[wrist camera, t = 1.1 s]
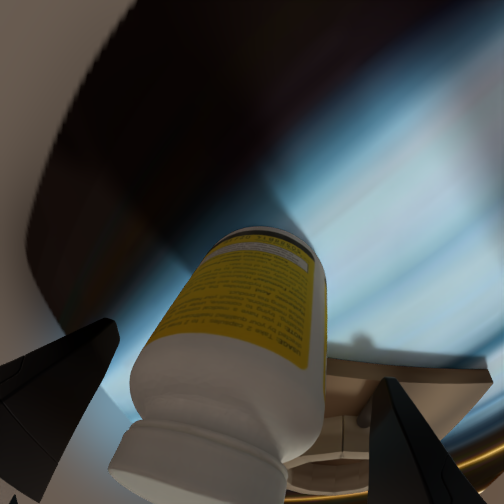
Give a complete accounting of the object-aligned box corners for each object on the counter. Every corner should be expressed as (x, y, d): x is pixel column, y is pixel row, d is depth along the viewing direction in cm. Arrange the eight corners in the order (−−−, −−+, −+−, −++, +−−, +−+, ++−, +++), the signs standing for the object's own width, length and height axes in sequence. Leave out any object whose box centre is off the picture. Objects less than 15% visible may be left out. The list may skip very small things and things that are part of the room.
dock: (489, 367, 13) (507, 411, 10) (388, 472, 20) (389, 503, 17) (236, 339, 15) (216, 394, 12) (226, 456, 22) (216, 489, 19)
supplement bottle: (183, 252, 13) (43, 433, 5) (293, 201, 11) (223, 465, 3) (242, 339, 15) (178, 521, 6) (343, 308, 13) (345, 533, 4)
